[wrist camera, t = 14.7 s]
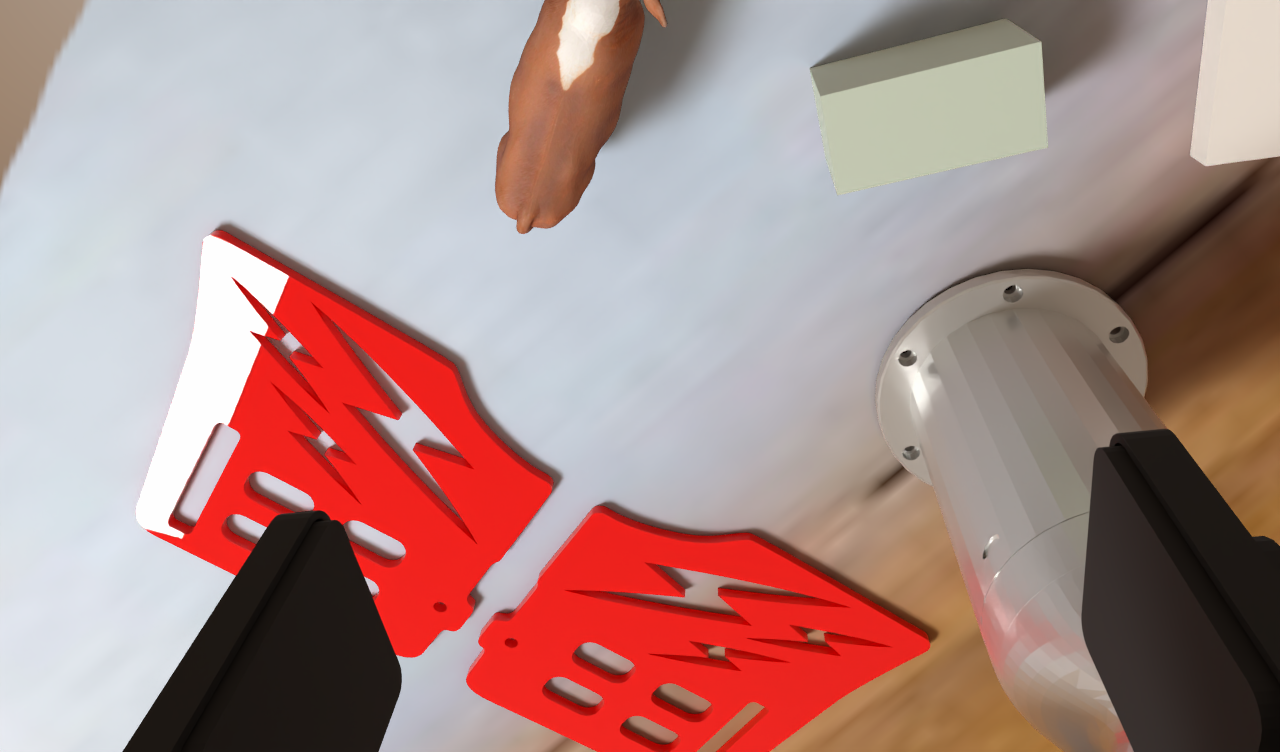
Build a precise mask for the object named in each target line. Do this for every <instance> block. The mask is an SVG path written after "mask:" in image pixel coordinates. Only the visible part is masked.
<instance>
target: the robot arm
mask: <svg viewBox="0 0 1280 752" xmlns="http://www.w3.org/2000/svg"><path fill="white" fill-rule="evenodd" d="M1012 285H1013V287H1012V288H1011V289H1009V290H1005V289H1006V288H1007V287H1009V286H1012ZM1114 328H1115V329H1114ZM907 350H909V351H908V352H907V353H902V352H904V351H907ZM1147 384H1148V359H1147V355H1146V351H1145V347H1144V343H1143V340H1142V338H1141V336H1140V334H1139V332H1138V330H1137V329H1136V327H1135V325H1134V323H1133V321H1132V320H1131V319H1130V317H1129V316H1128V315H1127V314H1126V313H1125V311H1124V310H1123V309H1122V308H1121V307H1120V305H1119V304H1118V303H1117V302H1115V301H1114V300H1113V299H1112V298H1111V297H1109V296H1108V295H1107V294H1106V293H1105V292H1103V291H1102V290H1101V289H1099V288H1097V287H1095V286H1094V285H1092V284H1090V283H1088V282H1086V281H1084V280H1082V279H1080V278H1077V277H1073V276H1070V275H1066V274H1063V273H1059V272H1056V271H1047V270H1036V269H1020V270H1008V271H999V272H995V273H991V274H987V275H983V276H979V277H975V278H973V279H970V280H968V281H966V282H963V283H961V284H959V285H956V286H954V287H952V288H949V289H948V290H946V291H945V292H943V293H941V294H940V295H938V296H937V297H935V298H933V299H932V300H930V301H929V302H927V303H926V304H925V305H924V306H923V307H921V308H920V309H919V310H918V311H917V312H916V313H915V314H914V315H912V316H911V317H910V318H909V319H908V320H907V321H906V323H905V324H904V325H903V326H902V328H901V329H900V330H899V331H898V333H897V334H896V335H895V337H894V338H893V339H892V341H891V343H890V345H889V347H888V349H887V351H886V353H885V355H884V357H883V358H882V361H881V365H880V368H879V372H878V375H877V379H876V391H875V404H876V410H877V416H878V421H879V424H880V427H881V430H882V433H883V437H884V439H885V441H886V443H887V445H888V446H889V448H890V450H891V451H892V453H893V455H894V456H895V457H896V459H897V460H898V461H899V462H900V463H901V464H902V465H903V466H904V467H905V468H906V469H907V470H908V471H909V472H910V473H912V474H913V475H914V476H916V477H917V478H919V479H920V480H921V481H923V482H924V483H926V484H928V485H931V486H933V488H934V491H935V494H936V497H937V500H938V503H939V506H940V509H941V512H942V515H943V518H944V521H945V524H946V527H947V530H948V533H949V536H950V539H951V542H952V545H953V549H954V552H955V555H956V558H957V561H958V564H959V567H960V570H961V573H962V576H963V579H964V582H965V585H966V588H967V591H968V594H969V597H970V600H971V603H972V606H973V609H974V612H975V616H976V619H977V622H978V625H979V628H980V631H981V634H982V637H983V640H984V642H985V644H986V647H987V650H988V653H989V656H990V659H991V662H992V665H993V668H994V671H995V673H996V675H997V677H998V680H999V682H1000V684H1001V686H1002V688H1003V690H1004V691H1005V693H1006V694H1007V696H1008V697H1009V699H1010V700H1011V702H1012V703H1013V705H1014V706H1015V707H1016V709H1017V710H1018V711H1019V712H1020V713H1021V714H1022V715H1023V717H1024V718H1025V719H1026V720H1027V721H1028V722H1029V723H1030V724H1031V725H1032V726H1033V727H1034V728H1035V729H1036V730H1037V731H1038V732H1039V733H1040V734H1042V735H1043V736H1044V737H1045V738H1047V739H1048V740H1049V741H1051V742H1052V743H1053V744H1055V745H1056V746H1057V747H1059V748H1060V749H1061V750H1063V751H1064V752H1280V546H1279V545H1278V544H1277V543H1276V542H1275V541H1274V540H1272V539H1270V538H1267V537H1265V536H1258V537H1252V536H1251V535H1250V533H1249V532H1248V531H1247V529H1246V528H1245V527H1244V525H1243V524H1242V523H1241V521H1240V520H1239V519H1238V518H1237V516H1236V515H1235V514H1234V512H1233V511H1232V510H1231V508H1230V507H1229V506H1228V504H1227V503H1226V502H1225V500H1224V499H1223V498H1222V496H1221V495H1220V494H1219V492H1218V491H1217V490H1216V488H1215V487H1214V486H1213V484H1212V483H1211V482H1210V481H1209V479H1208V478H1207V477H1206V475H1205V474H1204V473H1203V471H1202V470H1201V469H1200V467H1199V466H1198V465H1197V463H1196V462H1195V461H1194V459H1193V458H1192V457H1191V455H1190V454H1189V453H1188V451H1187V450H1186V449H1185V447H1184V446H1183V445H1182V443H1181V442H1180V441H1179V440H1178V438H1177V437H1176V436H1175V434H1174V433H1173V432H1172V431H1170V430H1168V429H1167V428H1166V426H1165V425H1164V424H1163V422H1162V421H1161V420H1160V418H1159V417H1158V416H1157V414H1156V413H1155V412H1154V410H1153V409H1152V408H1151V406H1150V405H1149V404H1148V403H1147V401H1146V400H1145V399H1144V397H1145V393H1146V388H1147ZM401 683H402V674H401V668H400V664H399V661H398V659H397V656H396V654H395V652H394V649H393V647H392V644H391V642H390V639H389V637H388V634H387V632H386V630H385V627H384V625H383V622H382V620H381V617H380V615H379V612H378V610H377V607H376V605H375V603H374V600H373V598H372V595H371V593H370V590H369V588H368V585H367V583H366V581H365V578H364V576H363V573H362V571H361V568H360V566H359V563H358V561H357V558H356V556H355V554H354V551H353V549H352V546H351V544H350V541H349V539H348V536H347V534H346V531H345V529H344V527H343V525H342V524H341V523H340V522H339V521H338V520H331V519H330V517H329V516H328V515H327V514H326V513H325V512H324V511H320V510H316V511H305V512H295V513H285V514H280V515H277V516H275V518H274V519H273V520H272V521H271V522H270V524H269V525H268V527H267V529H266V530H265V532H264V533H263V535H262V536H261V538H260V539H259V541H258V542H257V544H256V546H255V547H254V549H253V550H252V552H251V553H250V555H249V556H248V558H247V560H246V561H245V563H244V564H243V566H242V567H241V569H240V570H239V572H238V573H237V575H236V577H235V578H234V580H233V581H232V583H231V584H230V586H229V587H228V589H227V591H226V592H225V594H224V595H223V597H222V598H221V600H220V601H219V603H218V605H217V606H216V608H215V609H214V611H213V612H212V614H211V615H210V617H209V618H208V620H207V622H206V623H205V625H204V626H203V628H202V629H201V631H200V632H199V634H198V636H197V637H196V639H195V640H194V642H193V643H192V645H191V646H190V648H189V649H188V651H187V653H186V654H185V656H184V657H183V659H182V660H181V662H180V663H179V665H178V667H177V668H176V670H175V671H174V673H173V674H172V676H171V677H170V679H169V680H168V682H167V684H166V685H165V687H164V688H163V690H162V691H161V693H160V694H159V696H158V698H157V699H156V701H155V702H154V704H153V705H152V707H151V708H150V710H149V711H148V713H147V715H146V716H145V718H144V719H143V721H142V722H141V724H140V725H139V727H138V729H137V730H136V732H135V733H134V735H133V736H132V738H131V739H130V741H129V742H128V744H127V746H126V747H125V749H124V750H123V752H378V751H379V749H380V746H381V743H382V741H383V738H384V735H385V732H386V730H387V727H388V724H389V722H390V719H391V716H392V713H393V711H394V708H395V705H396V702H397V700H398V697H399V694H400V690H401Z"/></svg>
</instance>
